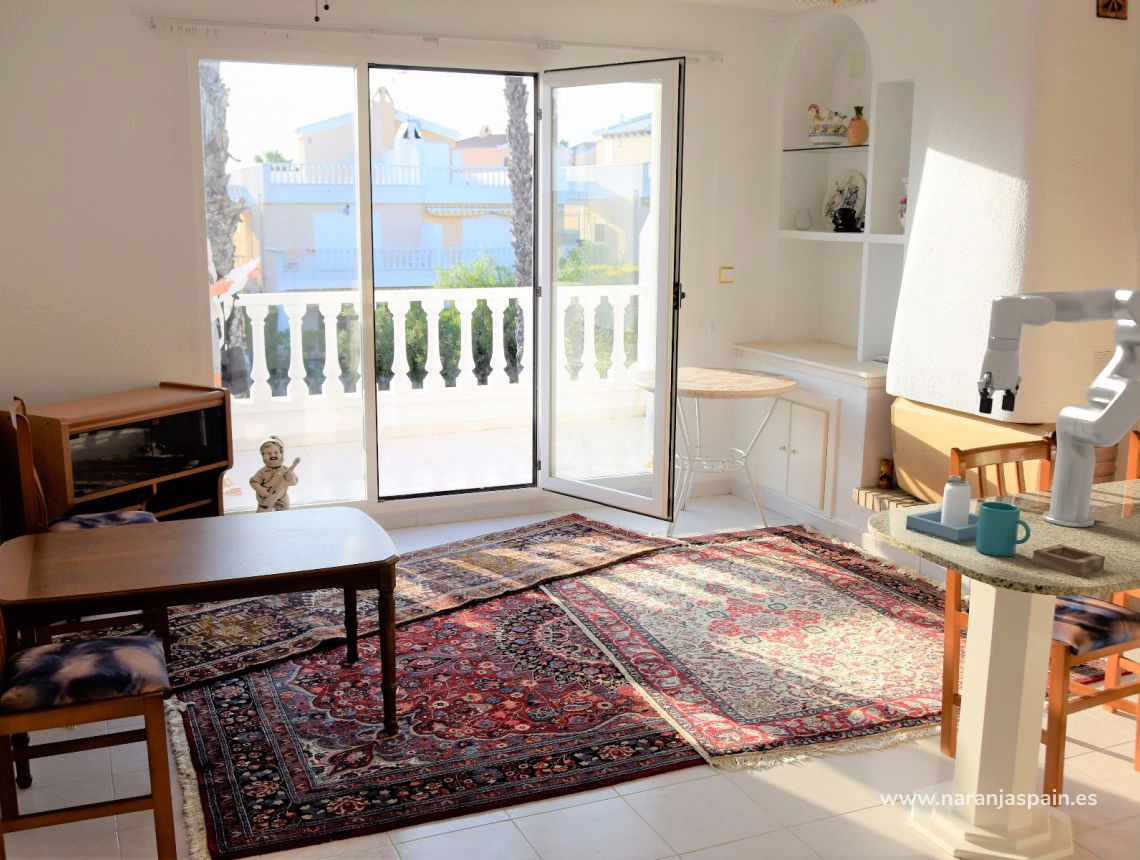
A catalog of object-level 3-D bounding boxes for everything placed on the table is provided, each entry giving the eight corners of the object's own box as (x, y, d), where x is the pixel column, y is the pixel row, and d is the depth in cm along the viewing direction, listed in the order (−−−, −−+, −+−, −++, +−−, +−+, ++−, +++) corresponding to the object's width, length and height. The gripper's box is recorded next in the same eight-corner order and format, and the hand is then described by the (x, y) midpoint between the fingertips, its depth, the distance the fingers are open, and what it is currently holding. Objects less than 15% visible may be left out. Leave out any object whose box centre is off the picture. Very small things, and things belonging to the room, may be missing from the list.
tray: (948, 520, 285) (950, 507, 284) (999, 534, 273) (1001, 520, 272) (905, 528, 274) (907, 515, 274) (956, 543, 262) (958, 529, 262)
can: (962, 533, 269) (967, 486, 267) (936, 528, 273) (941, 482, 270) (970, 528, 274) (975, 482, 272) (944, 523, 278) (949, 478, 276)
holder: (1058, 556, 254) (1059, 544, 254) (1103, 569, 246) (1105, 556, 245) (1032, 563, 248) (1033, 550, 248) (1077, 576, 239) (1079, 563, 239)
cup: (1021, 562, 248) (1026, 515, 246) (969, 551, 256) (974, 505, 254) (1033, 554, 255) (1038, 508, 253) (982, 544, 263) (986, 499, 261)
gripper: (1009, 342, 279) (1002, 407, 282) (970, 344, 269) (963, 411, 272) (1036, 345, 273) (1029, 412, 276) (996, 347, 263) (989, 416, 266)
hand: (996, 411), depth 274 cm, fingers open, 9 cm apart
